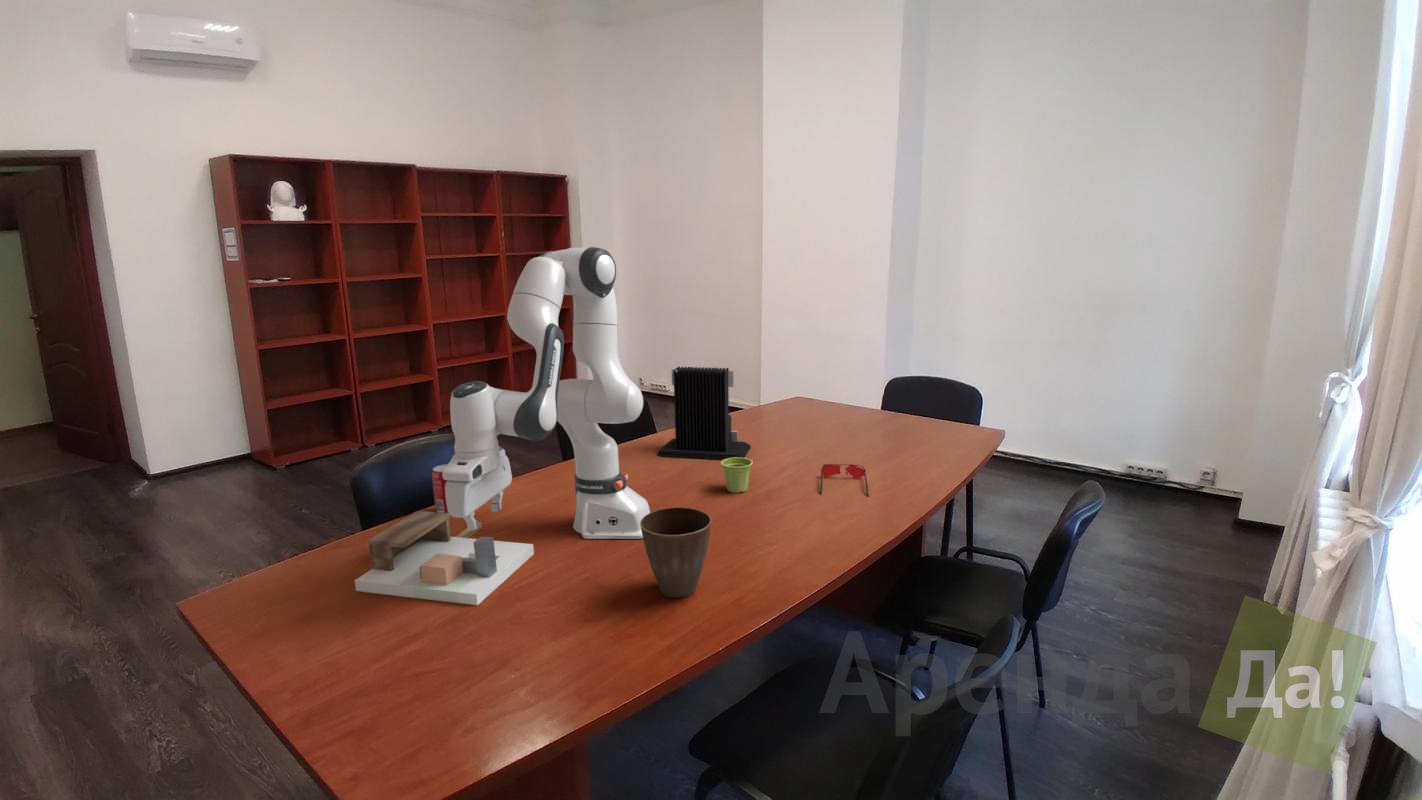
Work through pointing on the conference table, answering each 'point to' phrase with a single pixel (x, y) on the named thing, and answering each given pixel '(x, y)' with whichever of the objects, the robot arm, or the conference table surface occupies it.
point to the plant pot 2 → (736, 473)
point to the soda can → (439, 489)
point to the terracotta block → (441, 569)
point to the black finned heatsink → (703, 416)
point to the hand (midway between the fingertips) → (485, 519)
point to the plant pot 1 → (676, 547)
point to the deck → (458, 591)
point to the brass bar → (468, 532)
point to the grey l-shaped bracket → (480, 558)
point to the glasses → (835, 469)
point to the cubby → (407, 537)
